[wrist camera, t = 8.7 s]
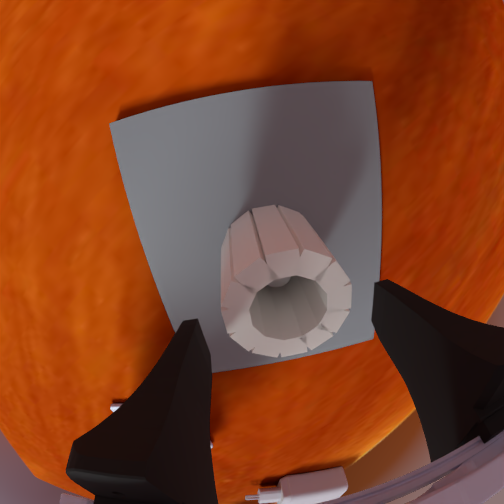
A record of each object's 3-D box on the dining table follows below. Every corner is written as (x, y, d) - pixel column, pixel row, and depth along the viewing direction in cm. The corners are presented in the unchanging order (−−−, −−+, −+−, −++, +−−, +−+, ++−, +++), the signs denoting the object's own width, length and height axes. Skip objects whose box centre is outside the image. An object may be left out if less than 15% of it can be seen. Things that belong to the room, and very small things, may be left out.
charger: (244, 476, 34) (342, 463, 35) (243, 492, 38) (327, 481, 39) (247, 503, 29) (349, 488, 31) (245, 514, 33) (333, 502, 35)
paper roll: (318, 282, 18) (349, 341, 13) (232, 299, 18) (237, 365, 13) (312, 198, 16) (351, 238, 11) (213, 216, 16) (208, 265, 11)
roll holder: (369, 332, 22) (385, 360, 19) (194, 367, 22) (192, 400, 19) (365, 82, 14) (395, 77, 11) (114, 122, 14) (89, 125, 11)
